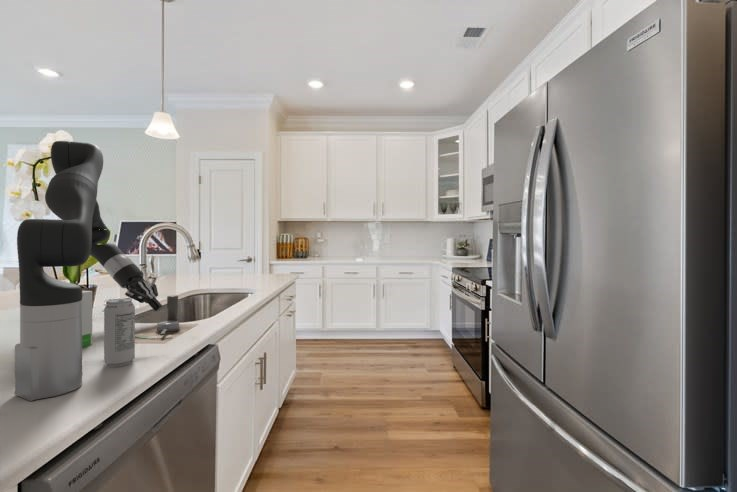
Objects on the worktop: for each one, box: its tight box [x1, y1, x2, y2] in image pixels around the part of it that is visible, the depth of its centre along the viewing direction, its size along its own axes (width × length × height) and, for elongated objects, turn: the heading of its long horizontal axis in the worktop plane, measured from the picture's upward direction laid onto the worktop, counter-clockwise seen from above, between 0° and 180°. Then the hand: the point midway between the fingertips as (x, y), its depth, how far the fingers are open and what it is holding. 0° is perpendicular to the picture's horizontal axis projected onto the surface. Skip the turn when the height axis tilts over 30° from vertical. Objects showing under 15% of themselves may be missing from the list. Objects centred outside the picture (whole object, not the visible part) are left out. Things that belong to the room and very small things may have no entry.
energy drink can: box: [103, 298, 136, 368], centre depth 87 cm, size 6×6×15 cm
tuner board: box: [135, 323, 199, 344], centre depth 111 cm, size 22×13×1 cm, turn 2°
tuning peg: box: [156, 295, 180, 335], centre depth 113 cm, size 19×6×9 cm, turn 19°
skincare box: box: [82, 290, 93, 348], centre depth 95 cm, size 8×7×16 cm
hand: (159, 308), depth 121 cm, fingers closed
